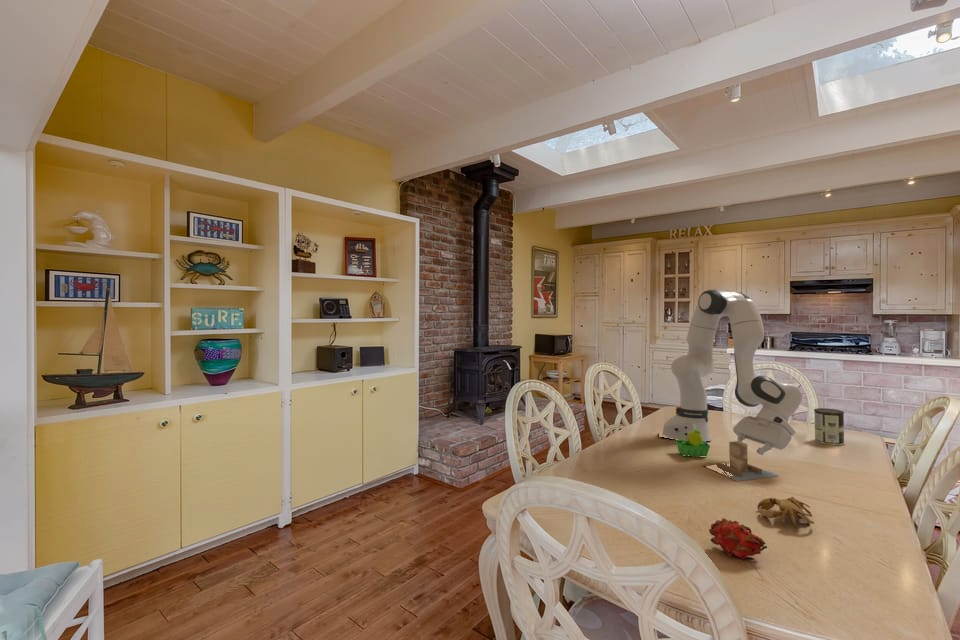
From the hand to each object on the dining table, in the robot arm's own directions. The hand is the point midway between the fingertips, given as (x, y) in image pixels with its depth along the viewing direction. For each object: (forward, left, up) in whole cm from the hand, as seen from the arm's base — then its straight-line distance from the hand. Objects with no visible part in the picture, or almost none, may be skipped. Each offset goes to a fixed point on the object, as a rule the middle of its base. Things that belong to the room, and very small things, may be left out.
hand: (748, 449), depth 158 cm
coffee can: (+31, +57, -8) cm, 65 cm away
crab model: (+8, -40, -8) cm, 41 cm away
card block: (-3, -3, -7) cm, 9 cm away
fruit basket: (-19, +8, -8) cm, 22 cm away
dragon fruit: (-3, -67, -8) cm, 68 cm away
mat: (-3, -3, -7) cm, 9 cm away
